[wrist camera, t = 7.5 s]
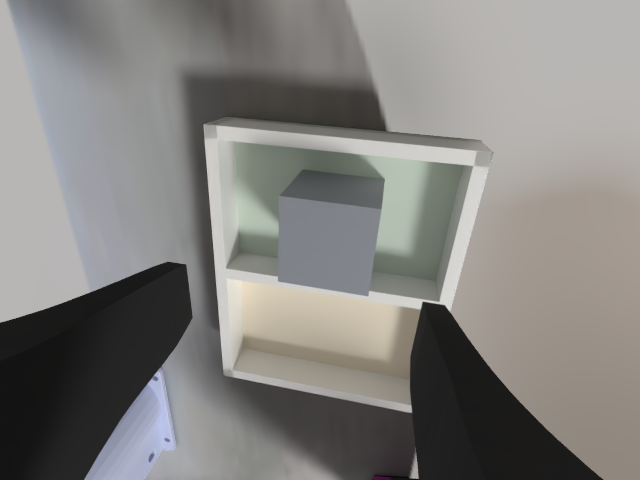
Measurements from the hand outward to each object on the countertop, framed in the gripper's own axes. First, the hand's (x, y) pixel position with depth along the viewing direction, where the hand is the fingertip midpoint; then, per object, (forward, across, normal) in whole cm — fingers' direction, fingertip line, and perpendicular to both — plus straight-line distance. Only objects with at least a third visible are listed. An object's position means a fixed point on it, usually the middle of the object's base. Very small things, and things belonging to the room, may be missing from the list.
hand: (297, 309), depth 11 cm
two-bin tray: (+9, 0, +4) cm, 10 cm away
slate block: (+8, 0, 0) cm, 8 cm away
